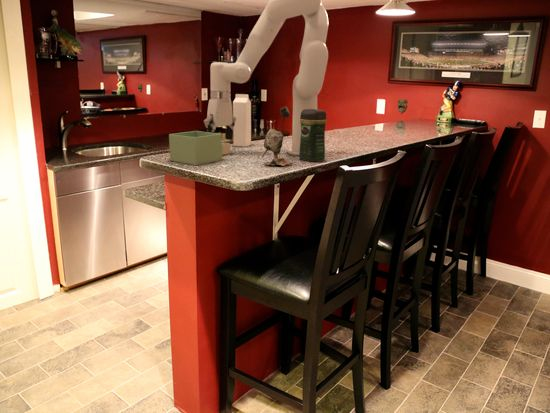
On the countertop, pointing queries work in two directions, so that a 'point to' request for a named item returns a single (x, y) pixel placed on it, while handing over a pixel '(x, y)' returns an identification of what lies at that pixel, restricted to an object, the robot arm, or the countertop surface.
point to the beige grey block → (225, 148)
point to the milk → (242, 120)
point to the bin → (195, 147)
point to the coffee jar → (312, 135)
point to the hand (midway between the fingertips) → (220, 140)
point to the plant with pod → (276, 141)
